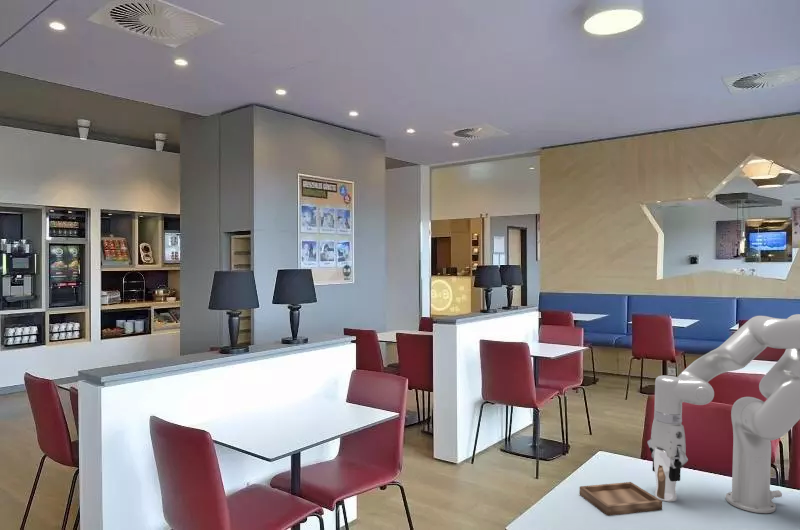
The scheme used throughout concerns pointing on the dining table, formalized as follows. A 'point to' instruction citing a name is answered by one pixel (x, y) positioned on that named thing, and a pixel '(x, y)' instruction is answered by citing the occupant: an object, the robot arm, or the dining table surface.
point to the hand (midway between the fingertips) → (666, 475)
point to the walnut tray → (620, 498)
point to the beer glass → (664, 477)
